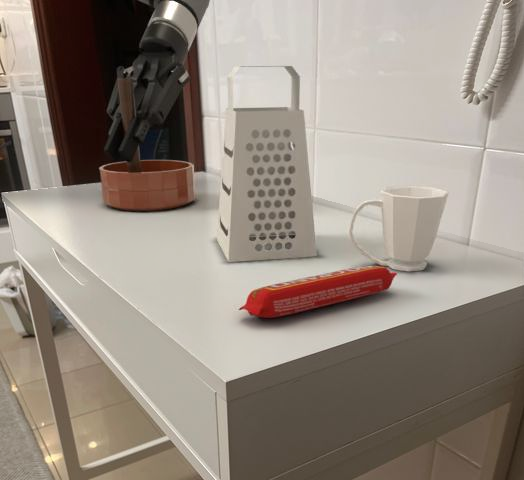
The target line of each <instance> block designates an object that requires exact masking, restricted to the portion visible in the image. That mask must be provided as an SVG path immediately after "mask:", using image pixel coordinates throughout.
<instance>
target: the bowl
mask: <svg viewBox="0 0 524 480" xmlns="http://www.w3.org/2000/svg"><path fill="white" fill-rule="evenodd" d="M140 162H141V172H135V173H131V172H128V169H127V161H126V160H125V161H118V162H112V163H107V164H103V165H102V166H100V167H98V171H99V179H100V185H101V186H100V187H101V194H102V201H103V203H104V205H107V206H110V207H112V208H114V209H117V210H120V211H121V210H122V211H129V212H153V211H165V210H170V209H171V210H173V209H176V208H180V207H183V206H186V205H188V204H189V203H191V202H193V201H195V199H196V184H195V183H196V182H195V165H194V163H192V162H188V161H183V160H173V159H142V160H141V159H140Z"/></svg>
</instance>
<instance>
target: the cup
mask: <svg viewBox="0 0 524 480" xmlns="http://www.w3.org/2000/svg"><path fill="white" fill-rule="evenodd" d="M379 192H380V199H378V198H377V199H367V200H365V201H363V202H361V203H360V204H359V205H358V206H357V207H356V208H355V209H354V211H353V213H352V217H351V219H350V225H349V232H348V233H349V237H350V240H351V243H352V244H353V246H354V247H355V248H356V250H357V251H358V252H360V253H361V254H362V255H363V256H365V257H366V258H367V259H369V260H370V261H371V262H372V263H373V262H374V263H375V264H378V265H379V266H383V267H388V268H390V269H393V270H395V271H401V272H417V271H423V270H424V269H425V268H426V267H427V265H428V263H427V262H426V261H425V260H426V259H428V257H429V255H430V253H431V250H432V248H433V246H434V243H435V240H436V238H437V235H438V231H439V227H440V224H441V220H442V217H443V214H444V209H445V207H446V203H447V199H448V196H449V191H447V190H443V189H440V188H437V187H433V186H421V185H419V186H418V185H400V186H398V185H397V186H388V187H386V188H383V189H382V190H380V191H379ZM366 206H374V207H379V208H381V222H382V224H381V225H382V238H383V243H384V249H385V255H386V256H387V257H389V259H388V260H381V259H379V258H377V257H375V256H373V255H372V254H370V253H369V252H367V251H366V250H365V249H364V248H362V246H360V245H359V243H358V242H357V241H356V240H355V237H354V235H353V230H354V224H355V222H356V218H357V216H358V214H359V213H360V212H361V211H362V209H363V208H364V207H366Z"/></svg>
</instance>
